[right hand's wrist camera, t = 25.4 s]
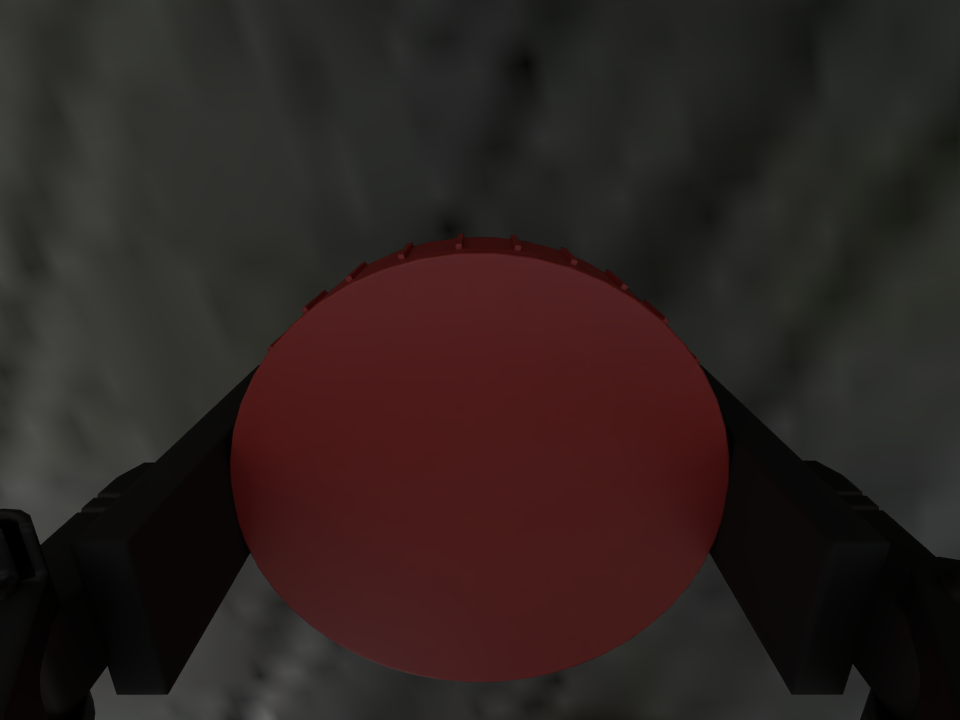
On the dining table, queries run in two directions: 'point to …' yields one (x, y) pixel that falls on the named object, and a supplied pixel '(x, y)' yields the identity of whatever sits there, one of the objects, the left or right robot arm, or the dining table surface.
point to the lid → (479, 462)
